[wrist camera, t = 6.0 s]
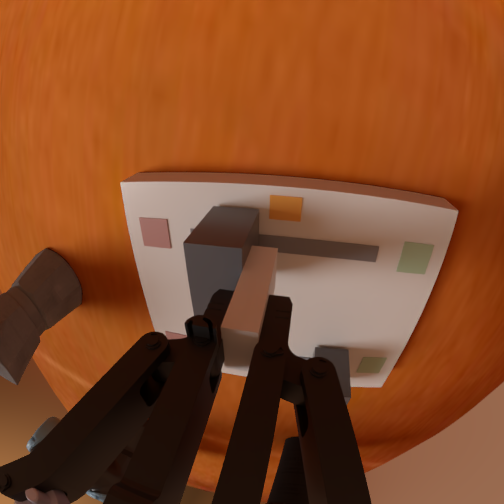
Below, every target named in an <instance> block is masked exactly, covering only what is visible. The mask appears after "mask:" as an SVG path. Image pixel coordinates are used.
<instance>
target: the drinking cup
mask: <svg viewBox="0 0 504 504" xmlns="http://www.w3.org/2000/svg"><path fill="white" fill-rule="evenodd" d="M266 504H309V499H308V492H307V486H306V479H305V472H304V466H303V459H302V453H301V447H300V440H299V437H291V438H288V439H286V441H285V444H284V448H283V452H282V455H281V459H280V462H279V466H278V469H277V473H276V476H275V479H274V483H273V486H272V489H271V492H270V495H269V499H268V502H267V503H266Z"/></svg>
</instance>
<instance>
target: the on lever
mask: <svg viewBox="0 0 504 504" xmlns="http://www.w3.org/2000/svg"><path fill="white" fill-rule="evenodd" d="M313 357H323V358H326V359H328V360H329V361H331V362H332V363H333V365H334V366H335V368H336V372H337V375H338V378H339V382H340V385H341V388H342V392H343V395H344V399H345V402H346V405H347V403H348V402H349V400H350V398H351V388H350V365H349V350H347V349H333V348H320V347H315V350H314V353H313ZM313 357H312V358H313Z"/></svg>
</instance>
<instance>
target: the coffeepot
mask: <svg viewBox="0 0 504 504" xmlns="http://www.w3.org/2000/svg"><path fill="white" fill-rule="evenodd" d="M81 303H82V289H81V285H80V283H79V280H78V278H77V276H76V274H75V273H74V271H73V270H72V268H71V267H70V265H69V264H68V263H67V262H66V261H65V260H64V259H63V258H62V257H61V256H60V255H59V254H57V253H56V252H54V251H52V250H49V249H47V248H46V249H44V250H42V251H41V252H40V253H38V254H37V255H35V257H34V258H33V259H32V260H31V261H30V263H29V264H28V265H27V266H26V268H25V269H24V270H23V271H22V273H21V274H20V275H19V276H18V278H17V279H16V280H15V282H14V283H13V284H12V287H11V288H10V289H9V290H8V291H7V292H6V293H3V294H1V295H0V375H1V376H3V377H4V378H5V379H7V380H9V381H10V382H12V383H14V384H16V385H18V383H19V381H20V379H21V377H22V375H23V373H24V371H25V369H26V367H27V365H28V363H29V361H30V359H31V357H32V356H33V354H34V352H35V350H36V348H37V346H38V345H39V343H40V337H39V336H40V335H41V334H42V333H43V332H44V331H45V330H47V329H49V328H51V327H52V326H53V325H55V324H56V323H57V322H58V321H60V320H61V319H62V318H64V317H65V316H66V315H67V314H69V313H70V312H71V311H73V310H74V309H75V308H76V307H78V306H79V305H80V304H81Z"/></svg>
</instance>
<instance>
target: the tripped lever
mask: <svg viewBox="0 0 504 504" xmlns="http://www.w3.org/2000/svg"><path fill="white" fill-rule="evenodd" d="M183 246H184V254H185V261H186V268H187V275H188V282H189V288H190V295H191V301H192V307H193V313H194V316H196V315H203V314H204V312H205V310H206V309H207V306H208V304H209V302H210V300H211V297H212V295H213V294H214V293H215V292H217V291H218V290H219V289H225V290H232V291H235V288H236V286H237V283H238V280H239V278H240V275H241V273H242V270H243V267H244V265H245V262H246V260H247V257H248V255H249V252H250V249H251V247H252V246H259V209H250V208H236V207H221V206H213V207H212V208H211V209H210V211H209V212H208V213H207V214H206V215H205V217H204V218H203V219H202V220H201V221H200V223H199V224H198V225H197V226H196V227H195V229H194V230H193V231H192V232H191V234H190V235H189V236H188V237H187V238H186V240H185V241H184V242H183Z"/></svg>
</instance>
